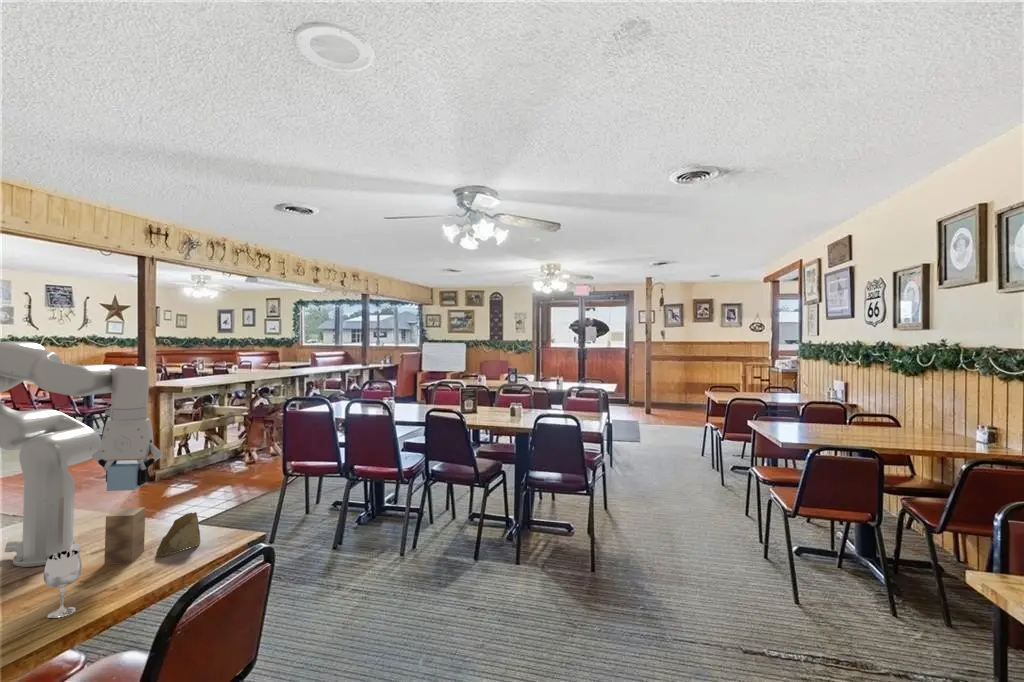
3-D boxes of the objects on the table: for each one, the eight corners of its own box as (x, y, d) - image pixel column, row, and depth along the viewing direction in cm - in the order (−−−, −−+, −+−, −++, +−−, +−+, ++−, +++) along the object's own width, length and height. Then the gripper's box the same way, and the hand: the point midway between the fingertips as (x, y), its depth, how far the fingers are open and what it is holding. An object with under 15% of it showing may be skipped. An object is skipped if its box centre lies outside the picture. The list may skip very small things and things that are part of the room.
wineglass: (47, 609, 102) (49, 552, 102) (83, 603, 105) (85, 547, 105) (37, 624, 97) (39, 563, 97) (75, 616, 100) (77, 557, 100)
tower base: (104, 564, 122) (105, 540, 122) (117, 554, 128) (118, 531, 128) (131, 562, 124) (132, 539, 124) (143, 552, 130) (144, 529, 130)
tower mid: (105, 540, 122) (105, 516, 122) (118, 531, 128) (119, 508, 128) (132, 539, 124) (133, 515, 124) (144, 529, 130) (145, 507, 130)
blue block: (106, 491, 122) (107, 467, 122) (119, 484, 128) (120, 461, 128) (134, 490, 124) (135, 466, 124) (146, 483, 130) (146, 460, 130)
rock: (153, 554, 124) (199, 541, 129) (151, 521, 128) (196, 510, 133) (159, 565, 132) (203, 552, 137) (157, 533, 136) (200, 522, 141)
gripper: (81, 416, 120) (78, 490, 120) (160, 416, 124) (158, 487, 124) (99, 412, 128) (96, 481, 128) (173, 412, 132) (171, 479, 132)
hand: (127, 483), depth 126 cm, fingers closed on blue block, 6 cm apart
